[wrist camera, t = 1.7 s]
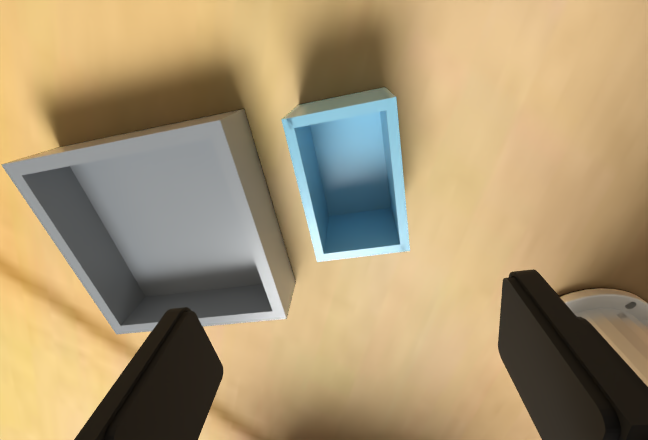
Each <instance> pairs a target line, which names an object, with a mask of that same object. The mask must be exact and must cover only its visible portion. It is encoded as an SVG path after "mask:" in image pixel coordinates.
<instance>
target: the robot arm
mask: <svg viewBox="0 0 648 440" xmlns="http://www.w3.org/2000/svg"><path fill="white" fill-rule="evenodd" d="M498 349H499V353H500V356H501V359H502V361H503V363H504V365H505V367H506V369H507V371H508V373H509V375H510V377H511V379H512V381H513V383H514V385H515V387H516V389H517V391H518V393H519V395H520V397H521V399H522V401H523V403H524V405H525V407H526V409H527V411H528V413H529V415H530V417H531V419H532V420H533V422H534V424H535V426H536V428H537V430H538V432H539V434H540V436H541V438H542V440H648V303H647V302H646V301H644V300H643V299H641V298H640V297H638V296H637V295H634V294H632V293H629V292H627V291H622V290H617V289H604V288H599V289H588V290H582V291H577V292H573V293H569V294H566V295H564V296H561V297H559V296H558V295H557V293H556V292H555V291H554V290H553V289H552V288H551V287H550V285H549V284H548V283H547V282H546V281H545V280H544V278H543V277H542V276H541V275H540V274H539V273H538V272H537V271H536V270H525V271H516V272H511V273H510V274H509V278H504V279H503V285H502V299H501V313H500V326H499V340H498ZM222 377H223V366H222V364H221V362H220V360H219V358H218V356H217V354H216V352H215V350H214V348H213V346H212V344H211V342H210V340H209V338H208V336H207V334H206V332H205V330H204V328H203V327H202V325H201V323H200V321H199V319H198V317H197V315H196V313H195V312H194V311H191V309H190V308H188V307H182V308H173V309H169V310H167V311H166V312H165V314H164V315H163V316H162V318H161V319H160V321H159V322H158V323H157V325H156V326H155V328H154V329H153V330H152V332H151V333H150V335H149V336H148V337H147V339H146V340H145V342H144V343H143V344H142V346H141V347H140V349H139V350H138V351H137V353H136V354H135V356H134V357H133V358H132V360H131V361H130V363H129V364H128V365H127V367H126V368H125V369H124V371H123V372H122V374H121V375H120V376H119V378H118V379H117V381H116V382H115V383H114V385H113V386H112V388H111V389H110V390H109V392H108V393H107V395H106V396H105V397H104V399H103V400H102V402H101V403H100V404H99V406H98V407H97V409H96V410H95V411H94V413H93V414H92V416H91V417H90V418H89V420H88V421H87V423H86V424H85V425H84V427H83V428H82V429H81V431H80V432H79V434H78V435H77V436H76V438H75V439H74V440H198V438H199V435H200V433H201V430H202V428H203V425H204V423H205V420H206V418H207V415H208V412H209V410H210V407H211V405H212V402H213V400H214V397H215V395H216V392H217V390H218V387H219V385H220V382H221V380H222Z"/></svg>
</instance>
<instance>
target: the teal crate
mask: <svg viewBox="0 0 648 440" xmlns="http://www.w3.org/2000/svg"><path fill="white" fill-rule="evenodd" d="M282 123H283V127H284V131H285V135H286V139H287V143H288V147H289V151H290V155H291V159H292V163H293V167H294V171H295V175H296V179H297V183H298V187H299V191H300V195H301V199H302V203H303V207H304V211H305V215H306V219H307V223H308V227H309V231H310V235H311V239H312V243H313V247H314V251H315V255H316V259H317V262H321V261H329V260H338V259H346V258H354V257H363V256H371V255H380V254H388V253H396V252H405V251H410V246H409V234H408V223H407V212H406V201H405V190H404V178H403V167H402V156H401V145H400V133H399V122H398V111H397V100H396V96H395V95H394V94H392V93H391V92H390V91H389V90H388V89H387V88H386V87H383V88H378V89H373V90H368V91H363V92H358V93H353V94H348V95H343V96H338V97H333V98H329V99H324V100H319V101H314V102H309V103H304V104H299V105H298V106H296V107H295V108H294V109H293V110H292V111H291V112H290V113H288V114H287V115H286V116H285V117H284V118H283V119H282Z"/></svg>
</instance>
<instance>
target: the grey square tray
mask: <svg viewBox="0 0 648 440" xmlns="http://www.w3.org/2000/svg"><path fill="white" fill-rule="evenodd" d="M2 166H3V168H4V169H5V171H6V172H7V174H8V175H9V177H10V178H11V180H12V181H13V183H14V184H15V185H16V187H17V188H18V190H19V191H20V193H21V194H22V196H23V197H24V199H25V200H26V202H27V203H28V205H29V206H30V208H31V209H32V211H33V212H34V213H35V215H36V216H37V218H38V219H39V221H40V222H41V224H42V225H43V227H44V228H45V230H46V231H47V233H48V234H49V236H50V237H51V239H52V240H53V241H54V243H55V244H56V246H57V247H58V249H59V250H60V252H61V253H62V255H63V256H64V258H65V259H66V261H67V262H68V264H69V265H70V267H71V268H72V269H73V271H74V272H75V274H76V275H77V277H78V278H79V280H80V281H81V283H82V284H83V286H84V287H85V289H86V290H87V292H88V293H89V295H90V296H91V297H92V299H93V300H94V302H95V303H96V305H97V306H98V308H99V309H100V311H101V312H102V314H103V315H104V317H105V318H106V320H107V321H108V323H109V324H110V325H111V327H112V328H113V330H114V331H115V333H116V334H125V333H136V332H147V331H152V330H153V329H154V328H155V326H156V325H157V323H158V322H159V321H160V319H161V318H162V316H163V315H164V314H165V312H166V311H167V310H169V309H173V308H182V307H188V308H190V309H191V311H194V312H195V313H196V315H197V317H198V319H199V321H200V323H201V325H202V326H213V325H224V324H235V323H246V322H257V321H268V320H279V319H287V315H288V311H289V307H290V303H291V299H292V295H293V291H294V287H295V283H296V281H295V278H294V275H293V271H292V268H291V265H290V261H289V258H288V254H287V251H286V248H285V244H284V241H283V238H282V234H281V231H280V228H279V224H278V221H277V217H276V214H275V211H274V207H273V204H272V201H271V197H270V194H269V191H268V187H267V184H266V180H265V177H264V174H263V170H262V167H261V164H260V160H259V157H258V153H257V150H256V147H255V143H254V140H253V137H252V133H251V130H250V127H249V123H248V120H247V116H246V113H245V110H244V109H240V110H235V111H231V112H226V113H221V114H216V115H211V116H207V117H202V118H197V119H192V120H187V121H182V122H178V123H173V124H168V125H163V126H158V127H154V128H149V129H144V130H139V131H134V132H130V133H125V134H120V135H115V136H110V137H105V138H101V139H96V140H91V141H86V142H81V143H77V144H72V145H67V146H62V147H58V148H55V149H51V150H48V151H45V152H41V153H38V154H35V155H32V156H28V157H25V158H22V159H18V160H15V161H12V162H9V163H5V164H2Z"/></svg>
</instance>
